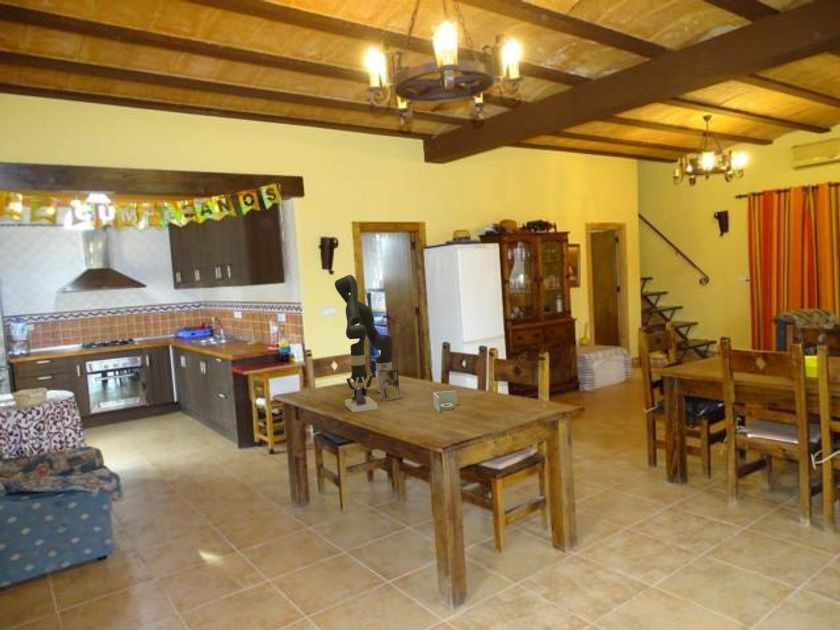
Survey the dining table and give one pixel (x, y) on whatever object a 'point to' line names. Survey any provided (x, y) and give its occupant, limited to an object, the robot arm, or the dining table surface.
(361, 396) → the wing knob
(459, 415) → the dining table surface
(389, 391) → the coffee box
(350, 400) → the levelling base
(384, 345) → the robot arm
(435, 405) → the right angle wall
